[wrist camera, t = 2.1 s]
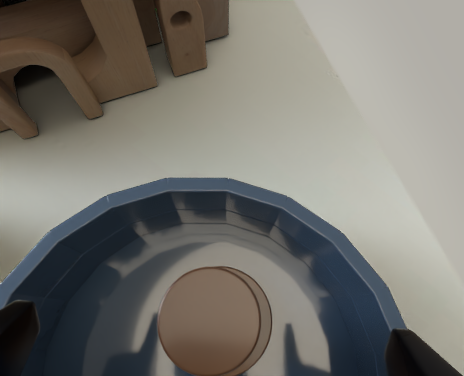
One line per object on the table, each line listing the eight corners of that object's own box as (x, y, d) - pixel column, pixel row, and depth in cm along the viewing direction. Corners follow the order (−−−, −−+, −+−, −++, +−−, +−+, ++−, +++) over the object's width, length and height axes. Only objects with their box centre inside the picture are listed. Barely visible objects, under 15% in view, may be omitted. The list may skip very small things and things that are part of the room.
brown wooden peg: (285, 356, 17) (361, 403, 7) (183, 393, 16) (120, 497, 7) (251, 255, 18) (276, 184, 9) (157, 285, 18) (75, 245, 8)
